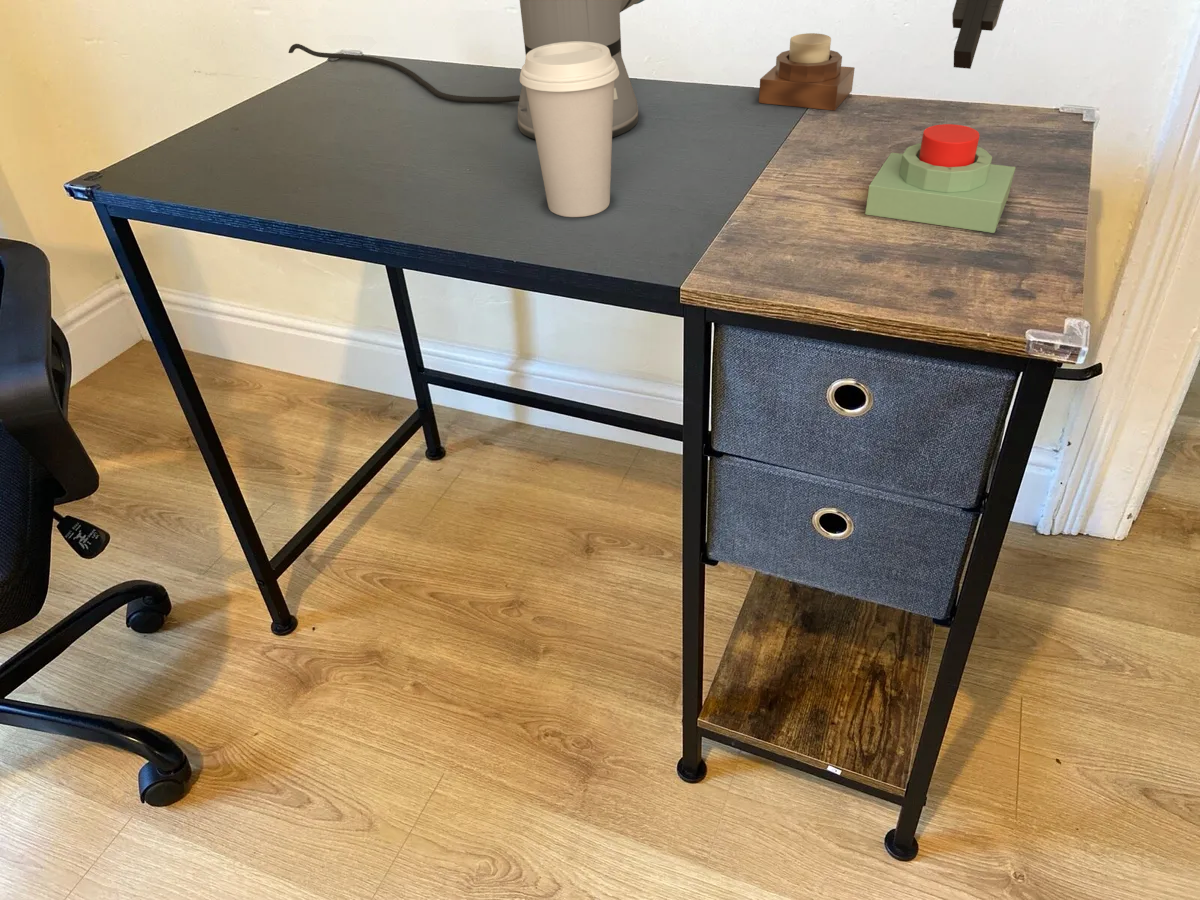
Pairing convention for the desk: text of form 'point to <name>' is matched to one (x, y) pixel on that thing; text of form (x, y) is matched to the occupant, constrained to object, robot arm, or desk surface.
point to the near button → (949, 145)
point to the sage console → (941, 191)
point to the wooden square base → (807, 83)
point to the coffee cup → (572, 123)
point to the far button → (809, 48)
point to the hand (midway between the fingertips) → (962, 59)
